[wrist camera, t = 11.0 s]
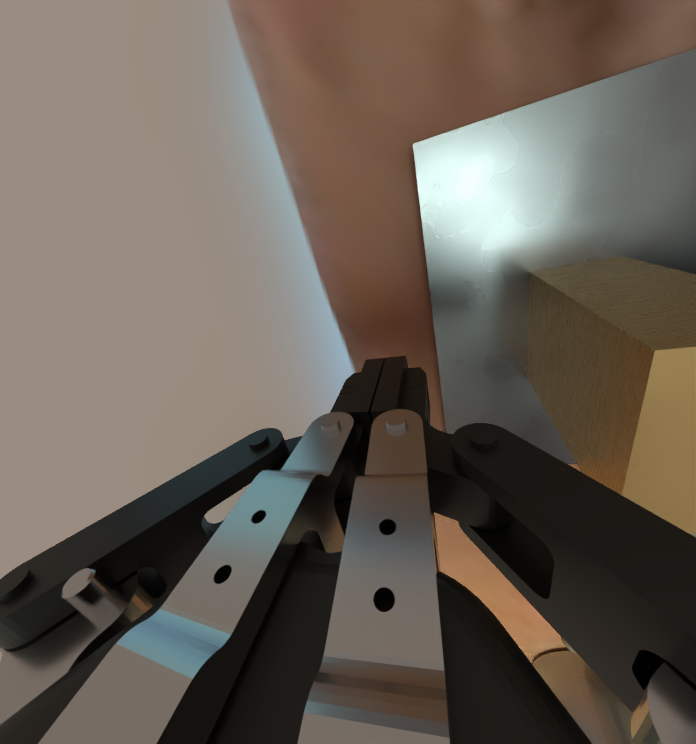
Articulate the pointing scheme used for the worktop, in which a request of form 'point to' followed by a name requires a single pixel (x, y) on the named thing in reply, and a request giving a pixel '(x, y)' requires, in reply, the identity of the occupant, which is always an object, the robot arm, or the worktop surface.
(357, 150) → the worktop surface
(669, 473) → the gold block
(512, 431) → the heatsink base
